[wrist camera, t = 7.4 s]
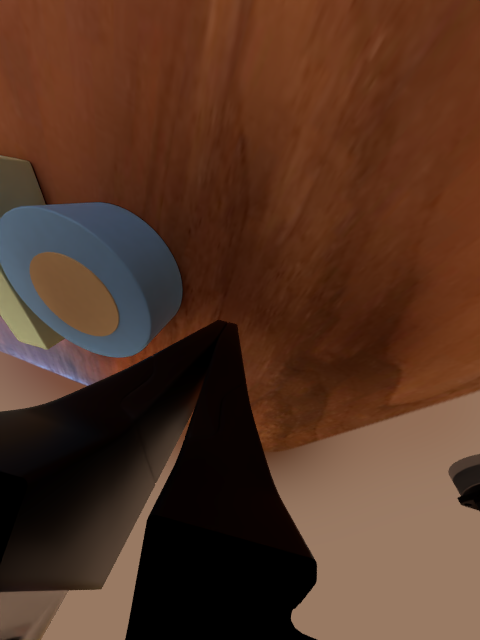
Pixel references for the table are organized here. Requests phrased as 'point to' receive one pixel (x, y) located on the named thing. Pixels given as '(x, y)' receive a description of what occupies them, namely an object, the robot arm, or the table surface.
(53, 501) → the robot arm
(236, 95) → the table surface
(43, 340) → the stop block
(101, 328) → the tape roll
